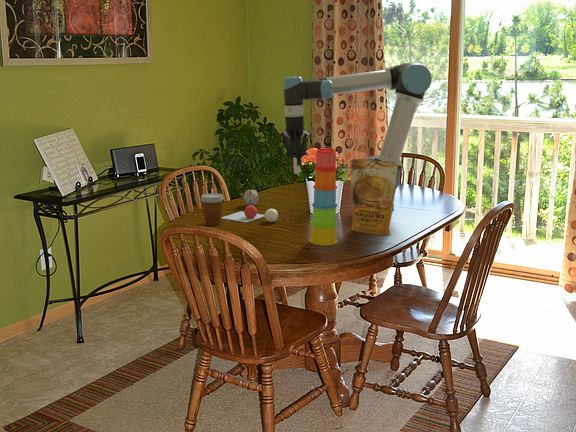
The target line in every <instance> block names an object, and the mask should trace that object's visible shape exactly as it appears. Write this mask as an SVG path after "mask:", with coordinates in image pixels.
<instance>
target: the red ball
mask: <svg viewBox="0 0 576 432" xmlns="http://www.w3.org/2000/svg"><path fill="white" fill-rule="evenodd" d="M243 212H244V214H245V216H246V217H247V218H254V217H255V216H256V215H257V214H258V209H257V207H256V206H252V205H249V206H246V207H244V211H243Z"/></svg>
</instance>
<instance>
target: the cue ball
mask: <svg viewBox="0 0 576 432" xmlns="http://www.w3.org/2000/svg"><path fill="white" fill-rule="evenodd" d="M264 215H265V216H264V218H265V220H266V221H267V222H269V223H274V222H276V221H277V220H278V217H279V213H278V211H277V210H276V209H275V208H269V209H267V210H266V211H265V212H264Z"/></svg>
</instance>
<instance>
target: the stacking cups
mask: <svg viewBox="0 0 576 432" xmlns="http://www.w3.org/2000/svg"><path fill="white" fill-rule="evenodd" d="M315 152H316V153H315V155H316V156H315V167H314V168H313V169H314V185H313V186H312V189H313V203H312V204H311V206H312V220H311V221H310V225H311V233H310V234H311V237H310V238H309V243H310V244H312V245H316V246H322V247H323V246H324V247H325V246H333V245H336V244H337V243H338V240H337V239H336V237H337V236H336V234H337V233H336V231H337V226H338V221H337V220H336V219H337V207H338V204H337V201H336V200H337V189H338V186H337V170H338V168H337V167H336V166H337V165H336V164H337V161H336V159H337V154H336V153H337V152H336V150H335V149H334V148H331V147H330V148H327V147H321V148H318V149H317V150H316V151H315Z"/></svg>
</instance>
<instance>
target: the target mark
mask: <svg viewBox="0 0 576 432" xmlns="http://www.w3.org/2000/svg"><path fill="white" fill-rule="evenodd" d="M263 217H264V218H265V214H260V213H257V215H256V216H255V217H254V218H247V217H246V216H245V214H244V211H242V210H241V211H238V212H237V211H236V212H235V213H231V214H229V215H225V216H222V217H221V220H228V221H233V222H234V221H235V222H242V223H249V222H252V221H255V220H258V219H262V218H263Z"/></svg>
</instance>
